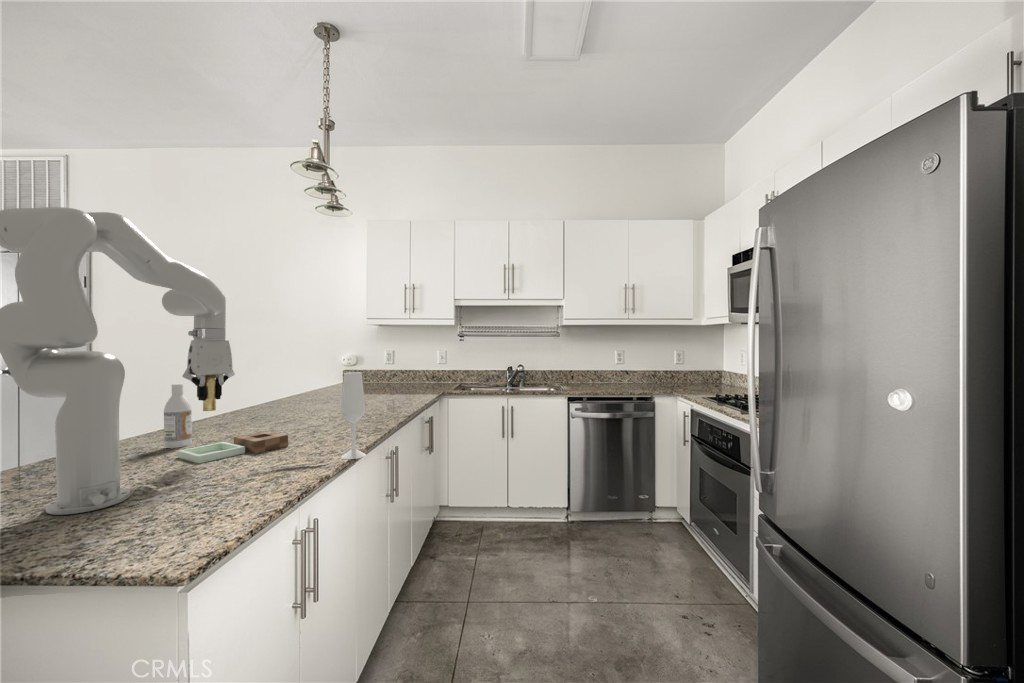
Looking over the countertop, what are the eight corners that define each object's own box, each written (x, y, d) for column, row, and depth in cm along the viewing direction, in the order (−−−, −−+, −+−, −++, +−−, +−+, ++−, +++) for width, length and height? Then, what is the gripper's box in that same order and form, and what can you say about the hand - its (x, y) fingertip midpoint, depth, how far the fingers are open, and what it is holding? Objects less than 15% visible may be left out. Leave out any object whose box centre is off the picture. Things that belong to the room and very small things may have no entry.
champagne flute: (347, 452, 130) (346, 371, 130) (369, 452, 130) (368, 371, 130) (337, 458, 124) (335, 373, 123) (360, 459, 123) (359, 373, 123)
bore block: (288, 447, 137) (288, 434, 137) (255, 455, 128) (255, 441, 128) (266, 443, 143) (266, 430, 143) (233, 450, 135) (233, 437, 134)
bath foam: (185, 449, 136) (184, 384, 136) (159, 450, 135) (158, 385, 135) (196, 443, 143) (195, 382, 143) (171, 445, 142) (170, 383, 142)
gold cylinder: (217, 410, 126) (218, 368, 126) (206, 411, 124) (206, 368, 124) (212, 409, 128) (212, 368, 128) (200, 410, 125) (201, 368, 125)
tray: (244, 455, 129) (244, 446, 129) (198, 465, 118) (198, 456, 118) (223, 450, 135) (223, 441, 135) (177, 459, 124) (177, 450, 124)
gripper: (183, 334, 117) (182, 403, 117) (246, 335, 131) (246, 397, 131) (170, 335, 121) (169, 402, 121) (233, 336, 135) (232, 396, 135)
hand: (209, 399), depth 126 cm, fingers closed on gold cylinder, 3 cm apart
